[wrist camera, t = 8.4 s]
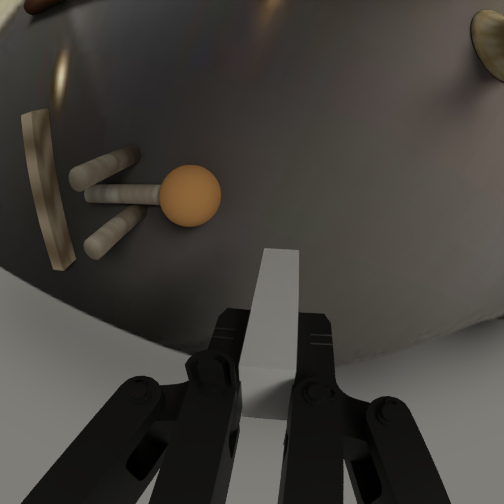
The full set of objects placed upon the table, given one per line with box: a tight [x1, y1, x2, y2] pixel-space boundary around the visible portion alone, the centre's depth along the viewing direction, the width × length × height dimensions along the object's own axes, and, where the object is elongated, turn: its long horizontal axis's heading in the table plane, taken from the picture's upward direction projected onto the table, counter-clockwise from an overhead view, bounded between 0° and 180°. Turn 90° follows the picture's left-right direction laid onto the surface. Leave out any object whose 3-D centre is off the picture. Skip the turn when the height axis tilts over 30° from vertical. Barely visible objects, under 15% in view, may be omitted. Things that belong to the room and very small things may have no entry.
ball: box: [159, 165, 221, 227], centre depth 26 cm, size 6×6×6 cm
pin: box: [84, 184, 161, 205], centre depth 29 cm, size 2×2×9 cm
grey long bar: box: [21, 108, 76, 271], centre depth 29 cm, size 20×2×3 cm, turn 0°
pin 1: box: [69, 145, 141, 192], centre depth 24 cm, size 2×2×9 cm
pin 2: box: [84, 204, 147, 260], centre depth 26 cm, size 2×2×9 cm
